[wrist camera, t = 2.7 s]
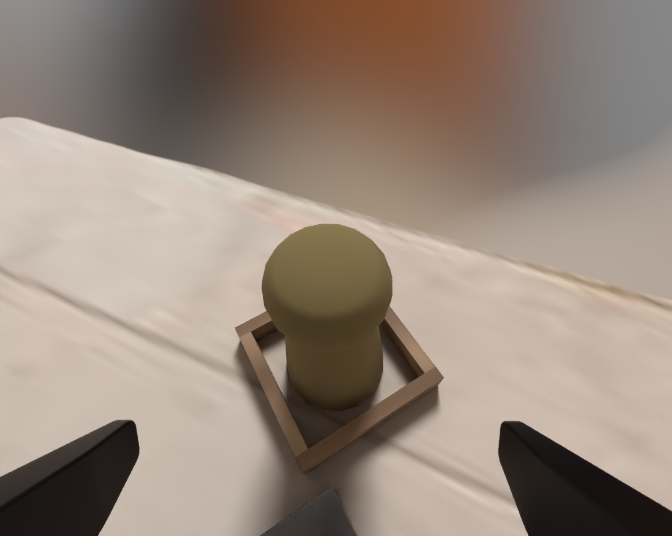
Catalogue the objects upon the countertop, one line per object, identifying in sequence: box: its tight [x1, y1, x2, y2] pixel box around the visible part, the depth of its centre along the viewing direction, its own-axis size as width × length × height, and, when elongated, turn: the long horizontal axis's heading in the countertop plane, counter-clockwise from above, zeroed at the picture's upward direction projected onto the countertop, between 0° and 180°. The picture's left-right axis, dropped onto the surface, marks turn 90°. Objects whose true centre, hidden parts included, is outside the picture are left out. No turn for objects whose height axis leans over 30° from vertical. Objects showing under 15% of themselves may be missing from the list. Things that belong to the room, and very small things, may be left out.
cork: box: [262, 224, 392, 411], centre depth 17 cm, size 6×6×11 cm
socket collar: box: [235, 306, 444, 474], centre depth 21 cm, size 9×9×2 cm
